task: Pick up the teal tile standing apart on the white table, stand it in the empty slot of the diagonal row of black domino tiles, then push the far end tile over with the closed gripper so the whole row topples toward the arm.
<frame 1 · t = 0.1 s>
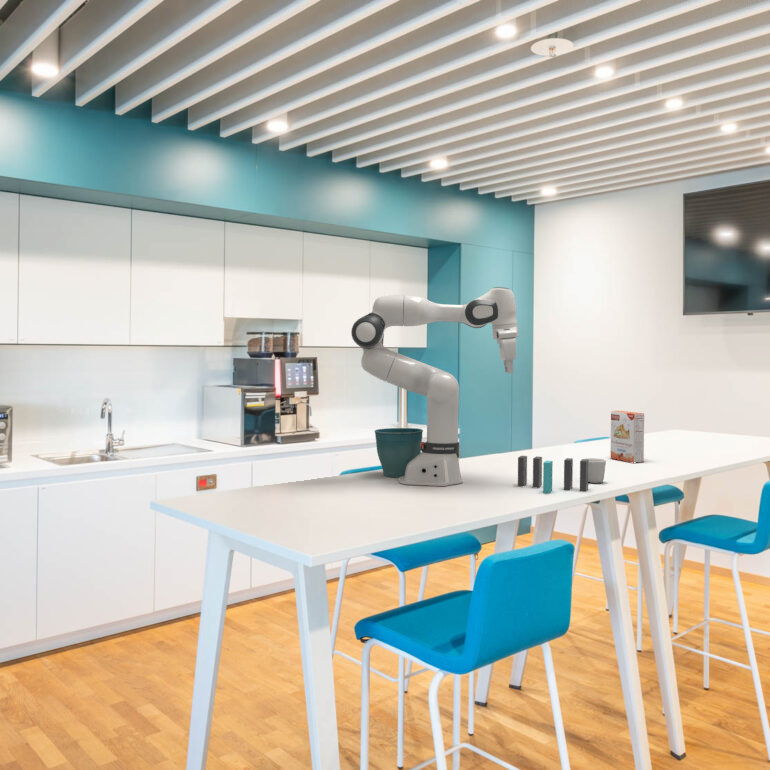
hand: (509, 372, 260), 39 cm above the table, tool pointing down, fingers open, 8 cm apart
flower pot: (398, 475, 277), on the table
domino 5: (522, 485, 256), on the table
domino 1: (583, 489, 248), on the table
domino 2: (568, 488, 250), on the table
domino 4: (537, 486, 254), on the table
domino teal: (547, 491, 244), on the table
cup: (591, 482, 264), on the table
cracker box: (626, 461, 314), on the table
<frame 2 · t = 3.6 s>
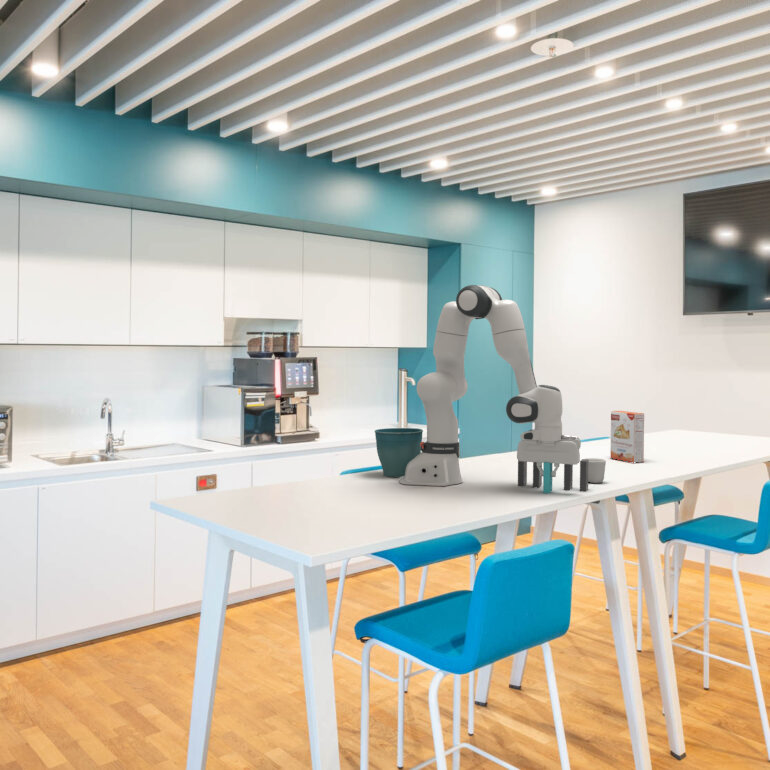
hand: (547, 476, 244), 5 cm above the table, tool pointing down, fingers closed on domino teal, 2 cm apart
domino teal: (547, 491, 244), on the table, touching gripper
everything else where it was.
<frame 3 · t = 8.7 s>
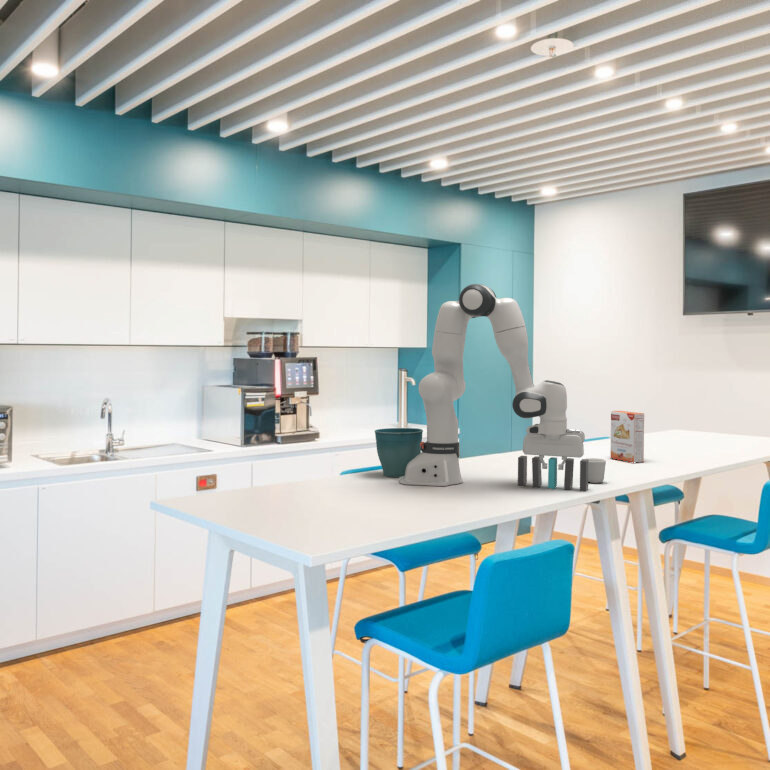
hand: (552, 469, 251), 6 cm above the table, tool pointing down, fingers open, 4 cm apart
domino 4: (537, 486, 254), on the table, touching gripper
domino teal: (552, 487, 252), on the table
everything else where it was.
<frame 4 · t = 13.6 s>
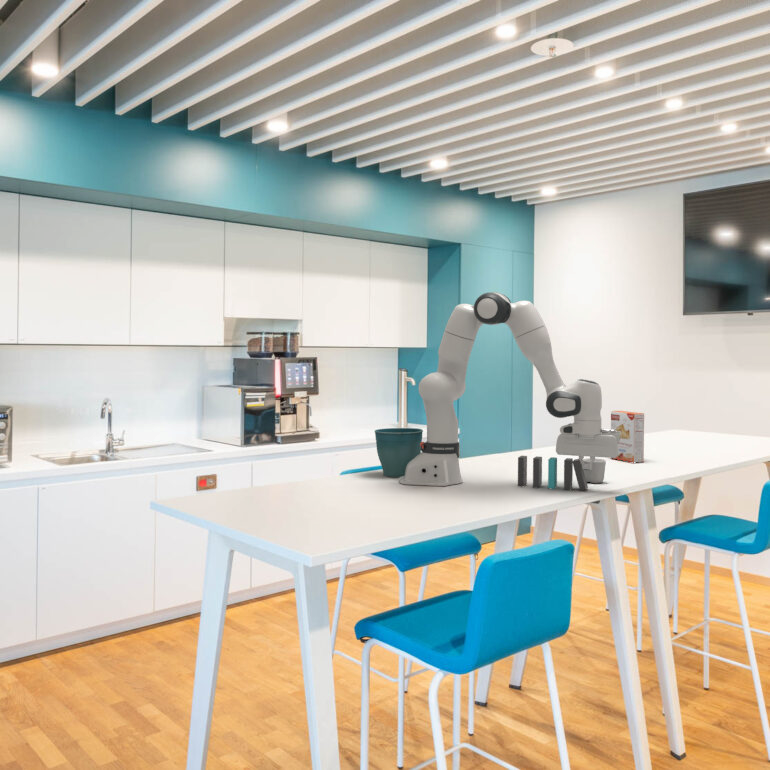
hand: (586, 469, 247), 7 cm above the table, tool pointing down, fingers closed
domino 1: (583, 489, 248), on the table, tilted 15°, touching gripper
domino 4: (537, 486, 254), on the table
everything else where it was.
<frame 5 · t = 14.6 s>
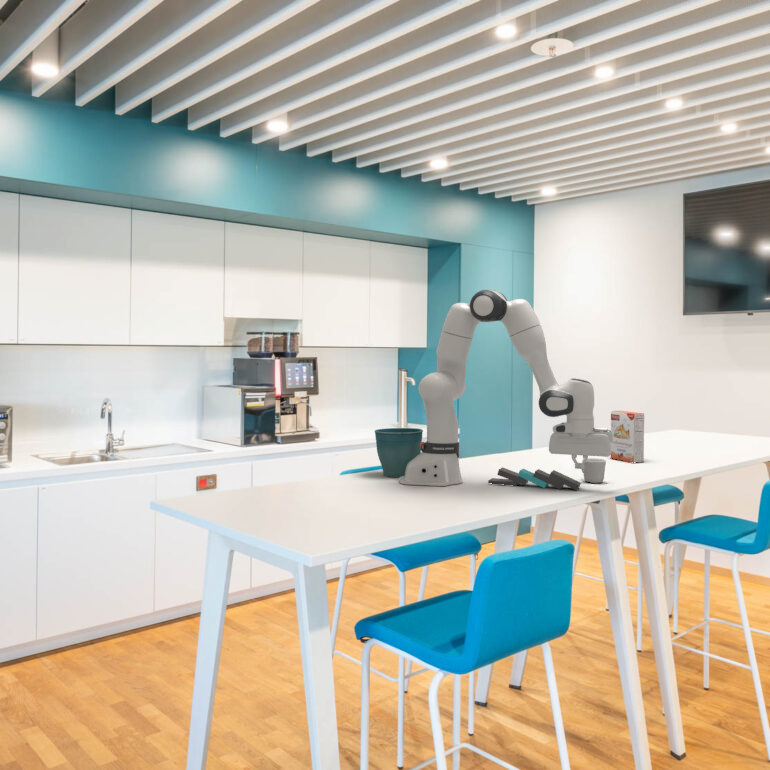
hand: (579, 468, 248), 7 cm above the table, tool pointing down, fingers closed
domino 5: (518, 484, 256), on the table, tilted 90°, touching domino 4
domino 1: (578, 486, 248), point 1 cm above the table, tilted 68°, touching domino 2
domino 2: (562, 485, 250), point 1 cm above the table, tilted 68°, touching domino 1
domino 4: (527, 481, 255), point 1 cm above the table, tilted 73°, touching domino 5, domino teal
domino teal: (547, 484, 253), point 1 cm above the table, tilted 68°, touching domino 4
everything else where it was.
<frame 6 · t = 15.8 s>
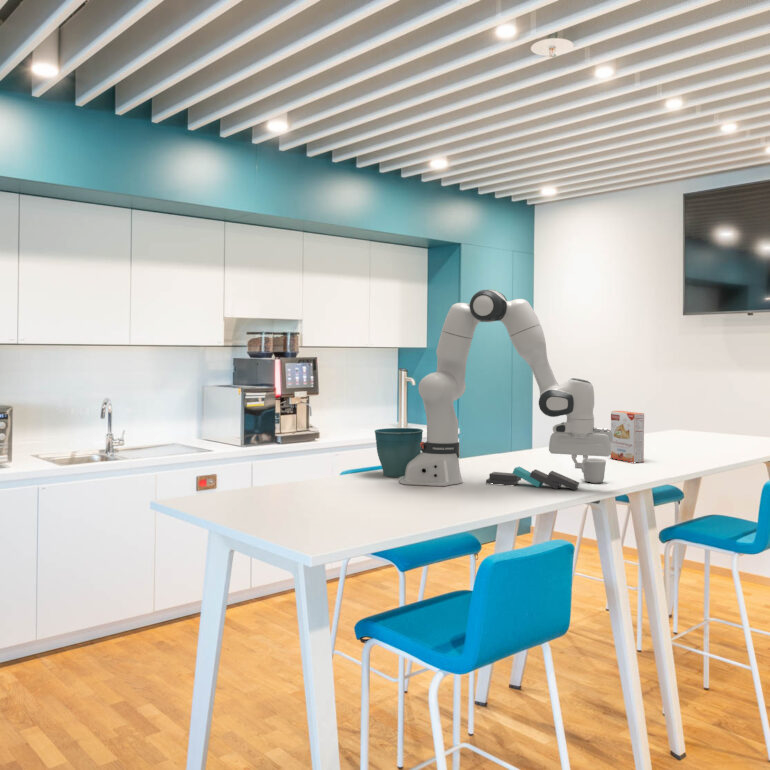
hand: (579, 468, 248), 7 cm above the table, tool pointing down, fingers closed
domino 2: (559, 485, 251), point 1 cm above the table, tilted 69°, touching domino 1
domino 4: (519, 477, 257), point 2 cm above the table, tilted 90°, touching domino 5
domino teal: (541, 483, 254), point 1 cm above the table, tilted 66°
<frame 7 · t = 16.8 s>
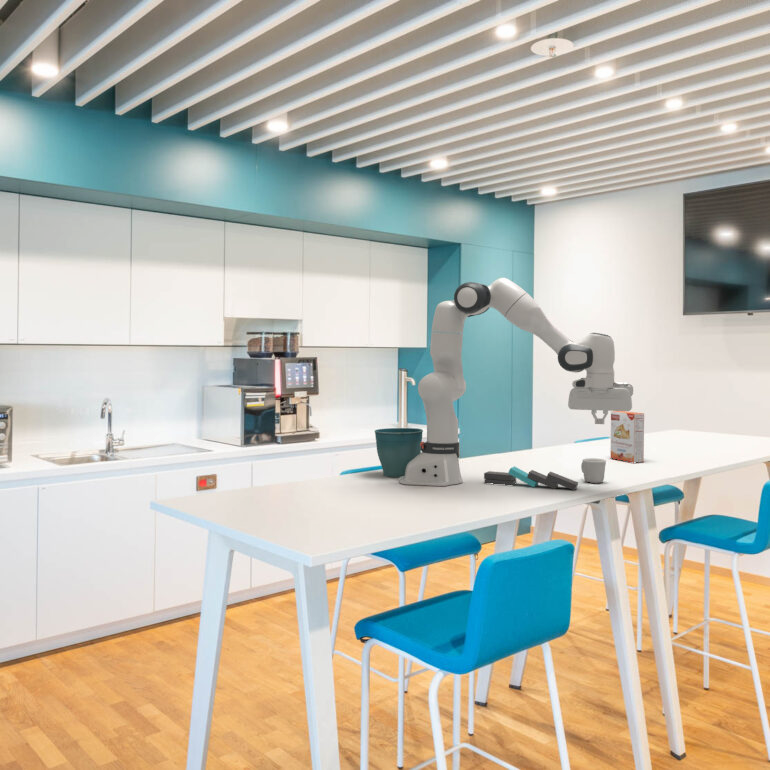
hand: (599, 424, 245), 22 cm above the table, tool pointing down, fingers closed
domino 5: (514, 483, 257), on the table, tilted 90°
domino 1: (576, 486, 249), point 1 cm above the table, tilted 72°
domino 2: (557, 485, 251), point 1 cm above the table, tilted 70°
domino 4: (513, 477, 258), point 3 cm above the table, tilted 90°, touching domino teal
domino teal: (536, 483, 254), point 1 cm above the table, tilted 65°, touching domino 4
everything else where it was.
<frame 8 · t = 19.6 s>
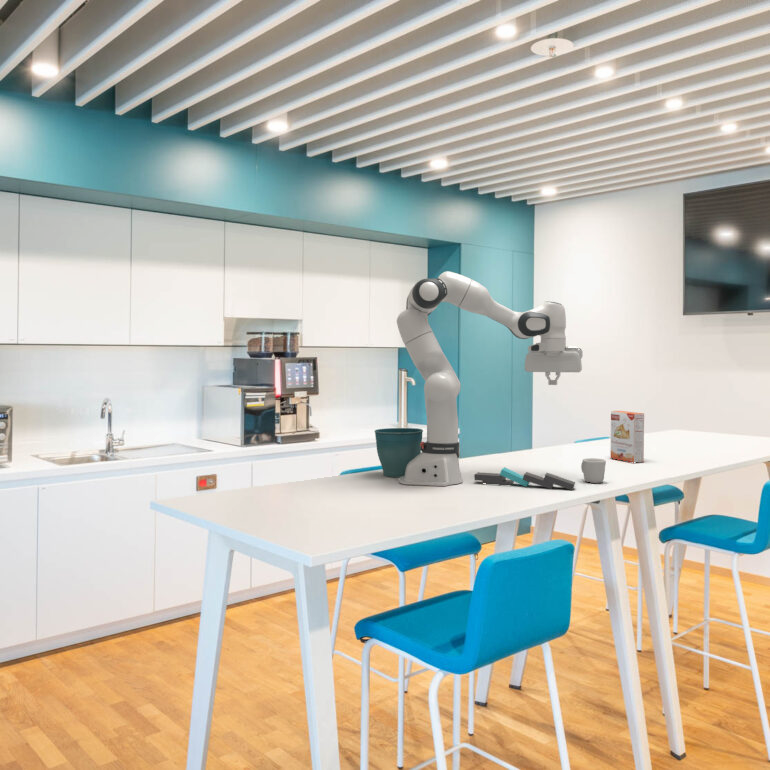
hand: (552, 384, 269), 34 cm above the table, tool pointing down, fingers closed
domino 5: (512, 484, 257), on the table, tilted 90°, touching domino 4
domino 1: (574, 486, 249), point 1 cm above the table, tilted 74°, touching domino 2
domino 2: (553, 485, 251), point 1 cm above the table, tilted 75°, touching domino 1
domino 4: (504, 478, 258), point 2 cm above the table, tilted 90°, touching domino 5, domino teal
domino teal: (528, 483, 255), point 1 cm above the table, tilted 68°, touching domino 4
everything else where it was.
at the end: domino 5 tilted 90°; domino teal tilted 68°; domino teal inside the target area (4.7 cm from its centre), point 0.9 cm above the table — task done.
